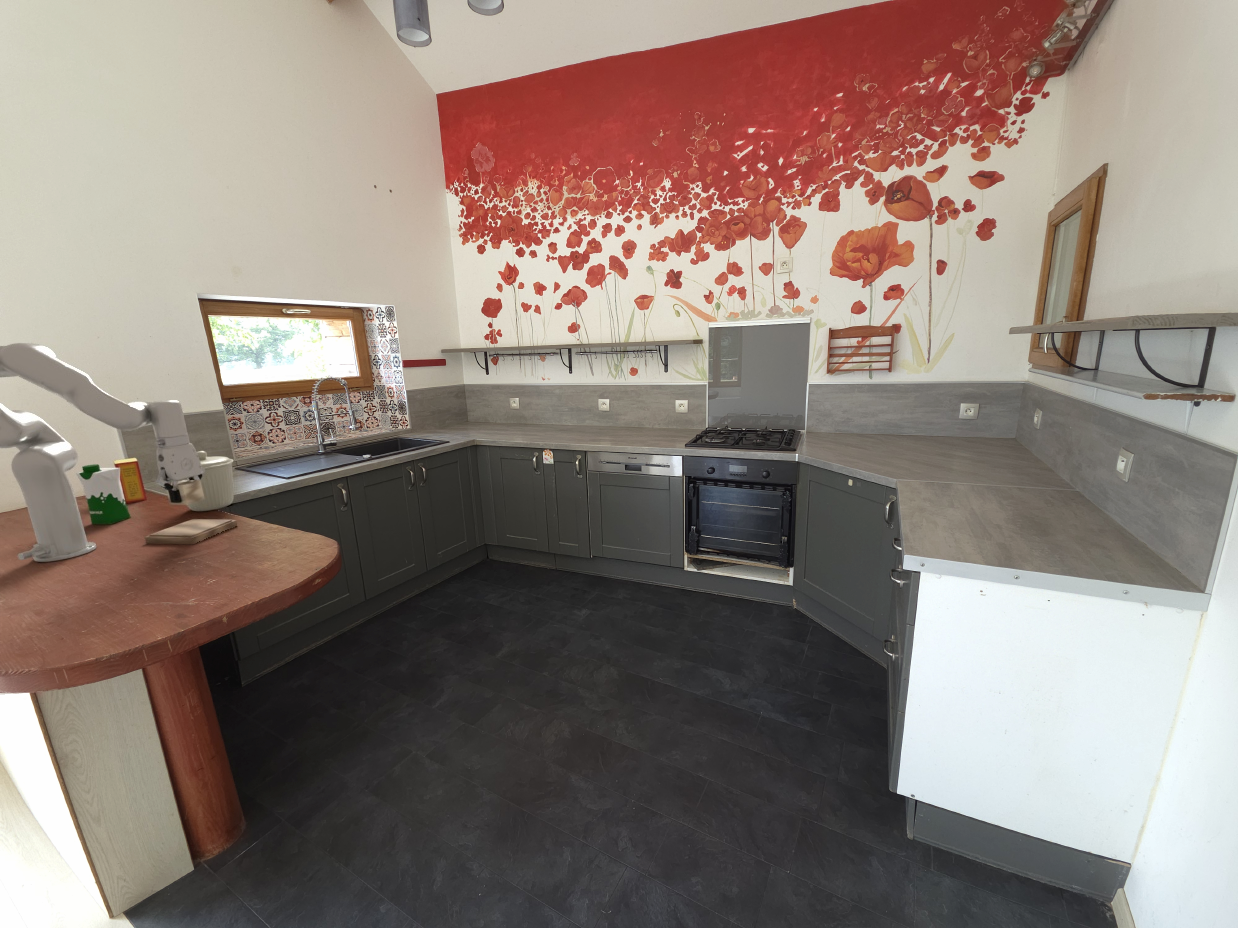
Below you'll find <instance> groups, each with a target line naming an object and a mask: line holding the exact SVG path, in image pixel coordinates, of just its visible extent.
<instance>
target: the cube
mask: <svg viewBox="0 0 1238 928" xmlns="http://www.w3.org/2000/svg"><path fill="white" fill-rule="evenodd" d="M171 485H172V483H171ZM177 490H179V491H180V495H181V500H182V502H181V503H171V500H170V496H169V492H168V491H167V490H165V492H166V495H167V499H168V503H169V505H170V506H171V505H174V506H176V505H177V506H180V505H182V506H183V505H185V506H187V505H188V504H191V503H194V502H197V501H200V500H203V499H205V498H204V494H203V489H202V485H201V481H200V480H183V481H180V482H178V485H177Z"/></svg>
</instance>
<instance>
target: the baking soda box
mask: <svg viewBox="0 0 1238 928" xmlns="http://www.w3.org/2000/svg"><path fill="white" fill-rule="evenodd" d="M138 461H139V460H138V459H137V458H136V457H132V458H125V459H124V458H123V459H117V460H116V459H115V460H113V461H112V462H113V466H114V468H120V482H121V486H122V490H123V494H124V498H125V502H126V504H130V503H136V502H142V501H147V500H148V497H147V494H146V489H145V486H144V482H143V478H142V474H141V469H140V465H139V462H138Z"/></svg>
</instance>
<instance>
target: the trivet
mask: <svg viewBox="0 0 1238 928" xmlns="http://www.w3.org/2000/svg"><path fill="white" fill-rule="evenodd" d="M237 525H238V520H237V519H209V518H208V519H203V518H200V519H198V518H192V519H189V520H187V521H183V522H181V523H178V524H175V525H173V526H170V527H168V528H164V529H162V530H159V531H155V532H153V533H151V534H149V535H146V536H144V540H145V544H159V545H160V544H164V545H167V544H169V545H170V544H171V545H195V544H197V542H198V543H200V542H202V541H205V540H207V539H209V538H208V537H210V538H212V537H214V536H213V535H215V536H216V534H217V533H219V534H222V533H223V532H222V531H224V532H226V531H225V530H227V529H229V530H231V529H230V528H232V527H234V528H236V527H235V526H237ZM237 527H238V526H237ZM232 529H233V528H232ZM227 531H228V530H227ZM221 532H222V533H221ZM217 535H218V534H217ZM211 536H212V537H211ZM206 538H207V539H206ZM204 539H205V540H204ZM199 541H200V542H199Z"/></svg>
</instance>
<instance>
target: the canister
mask: <svg viewBox="0 0 1238 928" xmlns="http://www.w3.org/2000/svg"><path fill="white" fill-rule="evenodd" d="M196 452H197V454H198V457H199V460H200V463H201V466H202V467H203V468H205V472H204V473H203V476H202V478H201V485H202V489H203V494H204V498H205V499H203V500H200V501H197V502H194V503H191V504H188V505H186V506H187V508H188V509H190V511H193V512H194V511H195V512H207V511H208V512H209V511H215V510H218V509H222V508H226V507H228V506H230V505H231V504H232V503H233V501H234V499H235V497H234V496H235V495H234V494H235V492H234V491H235V490H234V488H235V487H234V475H233V463H234V461H235V460H234V459H232V458H229V457H227V456H220V455H219V456H216V455H215V456H208V453H207V452H206V451H205V450H199V451H196ZM183 480H188V479H183ZM183 480H179V481H178V482H180V481H183Z"/></svg>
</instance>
